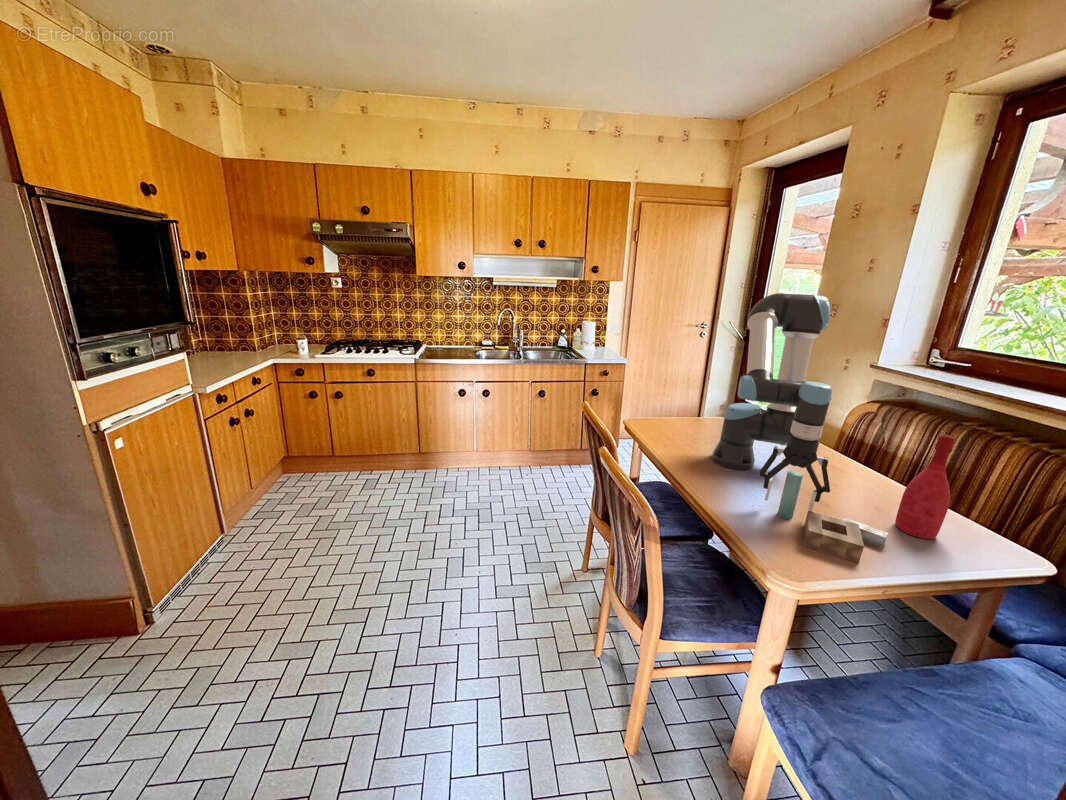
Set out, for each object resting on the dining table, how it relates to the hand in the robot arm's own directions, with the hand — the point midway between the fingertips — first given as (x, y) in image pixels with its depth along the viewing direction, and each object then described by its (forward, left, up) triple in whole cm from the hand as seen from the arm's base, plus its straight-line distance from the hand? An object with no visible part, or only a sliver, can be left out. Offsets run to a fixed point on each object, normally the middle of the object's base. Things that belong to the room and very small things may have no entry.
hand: (787, 504), depth 128 cm
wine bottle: (+33, +14, -4) cm, 36 cm away
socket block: (+11, -9, -4) cm, 15 cm away
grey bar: (+19, 0, -4) cm, 19 cm away
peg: (0, 0, -4) cm, 4 cm away
